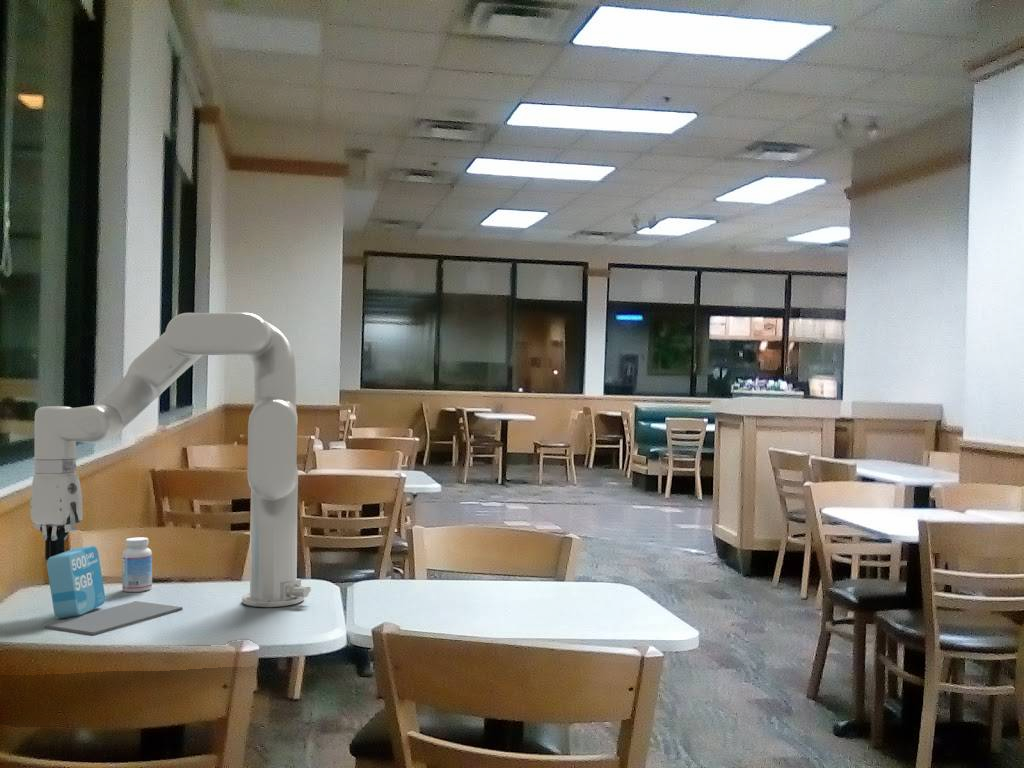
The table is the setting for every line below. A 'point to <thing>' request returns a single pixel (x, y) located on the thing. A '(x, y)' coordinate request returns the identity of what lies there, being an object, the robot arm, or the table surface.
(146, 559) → the pill bottle
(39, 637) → the table surface
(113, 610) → the mat
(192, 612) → the table surface
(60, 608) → the data package
